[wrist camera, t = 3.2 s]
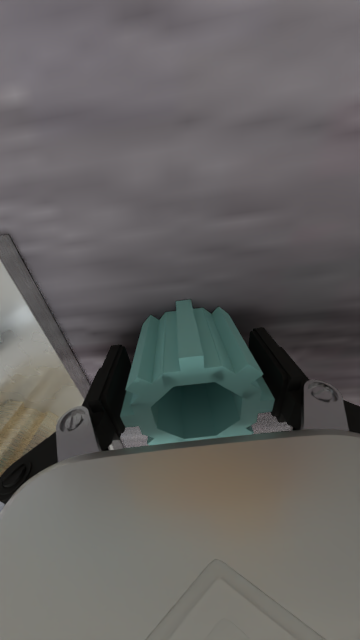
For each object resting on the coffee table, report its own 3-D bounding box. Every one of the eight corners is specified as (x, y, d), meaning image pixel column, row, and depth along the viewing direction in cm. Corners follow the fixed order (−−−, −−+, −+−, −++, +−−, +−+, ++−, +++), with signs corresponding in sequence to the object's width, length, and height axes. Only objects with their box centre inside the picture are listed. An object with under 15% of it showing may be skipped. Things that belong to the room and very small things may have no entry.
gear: (240, 293, 11) (287, 345, 6) (236, 374, 14) (264, 444, 10) (126, 307, 11) (96, 367, 7) (149, 384, 14) (139, 457, 10)
